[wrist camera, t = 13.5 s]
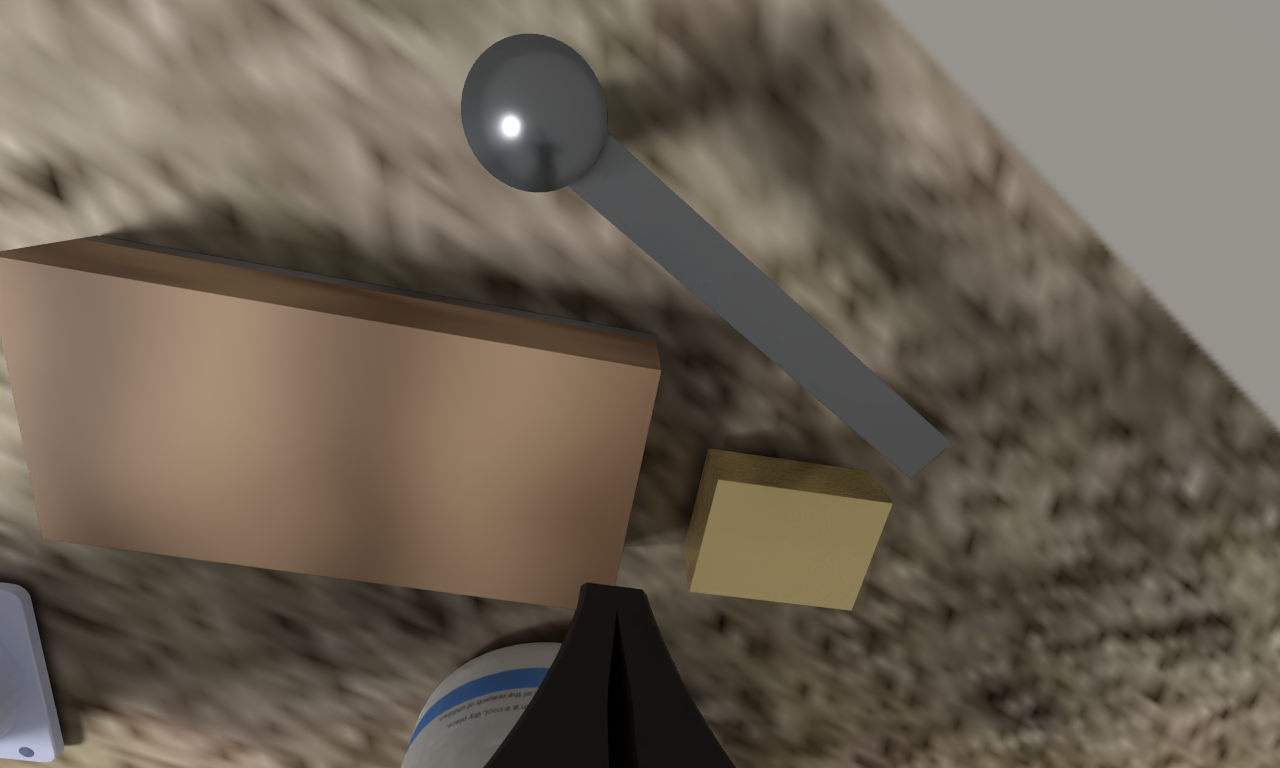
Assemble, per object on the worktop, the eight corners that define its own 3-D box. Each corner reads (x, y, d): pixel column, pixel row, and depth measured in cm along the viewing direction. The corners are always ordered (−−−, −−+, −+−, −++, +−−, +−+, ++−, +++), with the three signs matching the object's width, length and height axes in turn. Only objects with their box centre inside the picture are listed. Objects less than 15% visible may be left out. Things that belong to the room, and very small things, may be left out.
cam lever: (828, 415, 18) (908, 519, 13) (498, 133, 15) (433, 126, 10) (888, 357, 17) (997, 444, 12) (556, 51, 14) (518, -3, 9)
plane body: (131, 479, 18) (42, 538, 16) (97, 235, 16) (-17, 254, 13) (611, 548, 20) (608, 613, 17) (655, 334, 17) (661, 370, 14)
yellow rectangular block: (851, 610, 18) (825, 559, 20) (892, 503, 17) (859, 461, 19) (689, 591, 17) (680, 541, 20) (718, 479, 16) (705, 439, 18)
